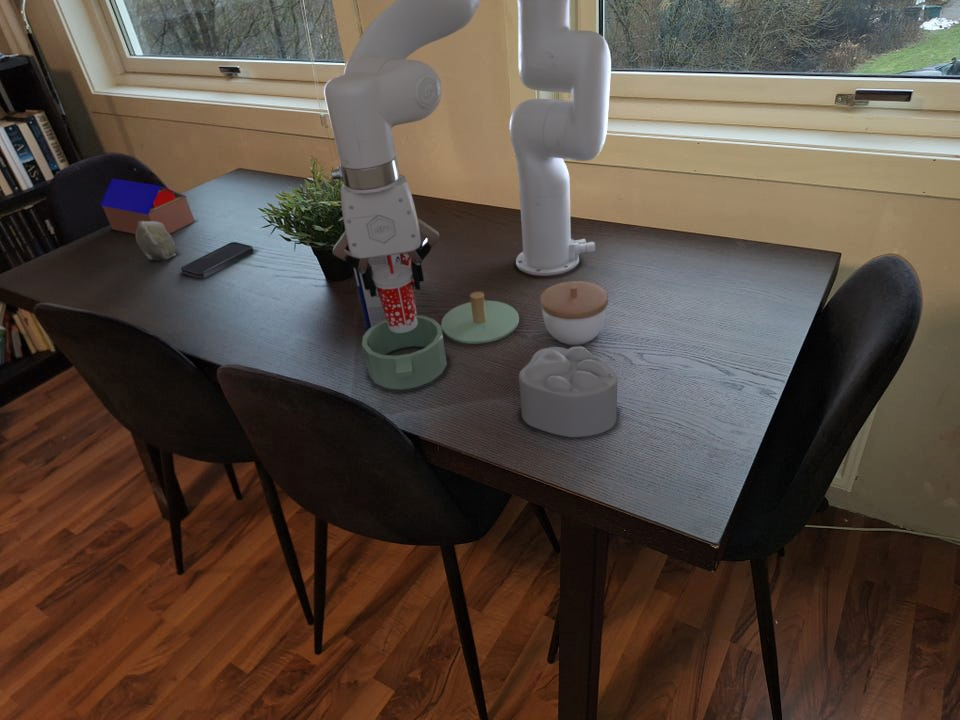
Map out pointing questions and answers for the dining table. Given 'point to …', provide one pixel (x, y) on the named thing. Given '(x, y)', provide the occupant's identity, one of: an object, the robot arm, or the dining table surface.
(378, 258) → the milk carton
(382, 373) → the pot
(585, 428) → the lumpy-topped squat cylinder
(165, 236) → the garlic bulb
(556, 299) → the trinket box
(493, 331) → the lid
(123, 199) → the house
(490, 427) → the dining table surface
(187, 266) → the phone
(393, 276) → the beverage cup
